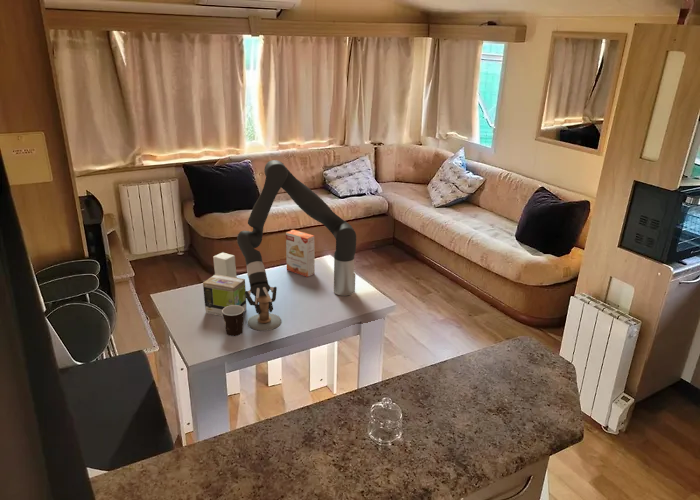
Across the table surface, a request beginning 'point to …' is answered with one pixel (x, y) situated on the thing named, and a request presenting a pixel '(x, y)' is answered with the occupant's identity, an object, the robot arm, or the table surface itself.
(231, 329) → the coffee mug
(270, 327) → the felt mat
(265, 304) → the wooden turned knob
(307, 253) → the cracker box
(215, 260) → the skincare box
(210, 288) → the tea box
